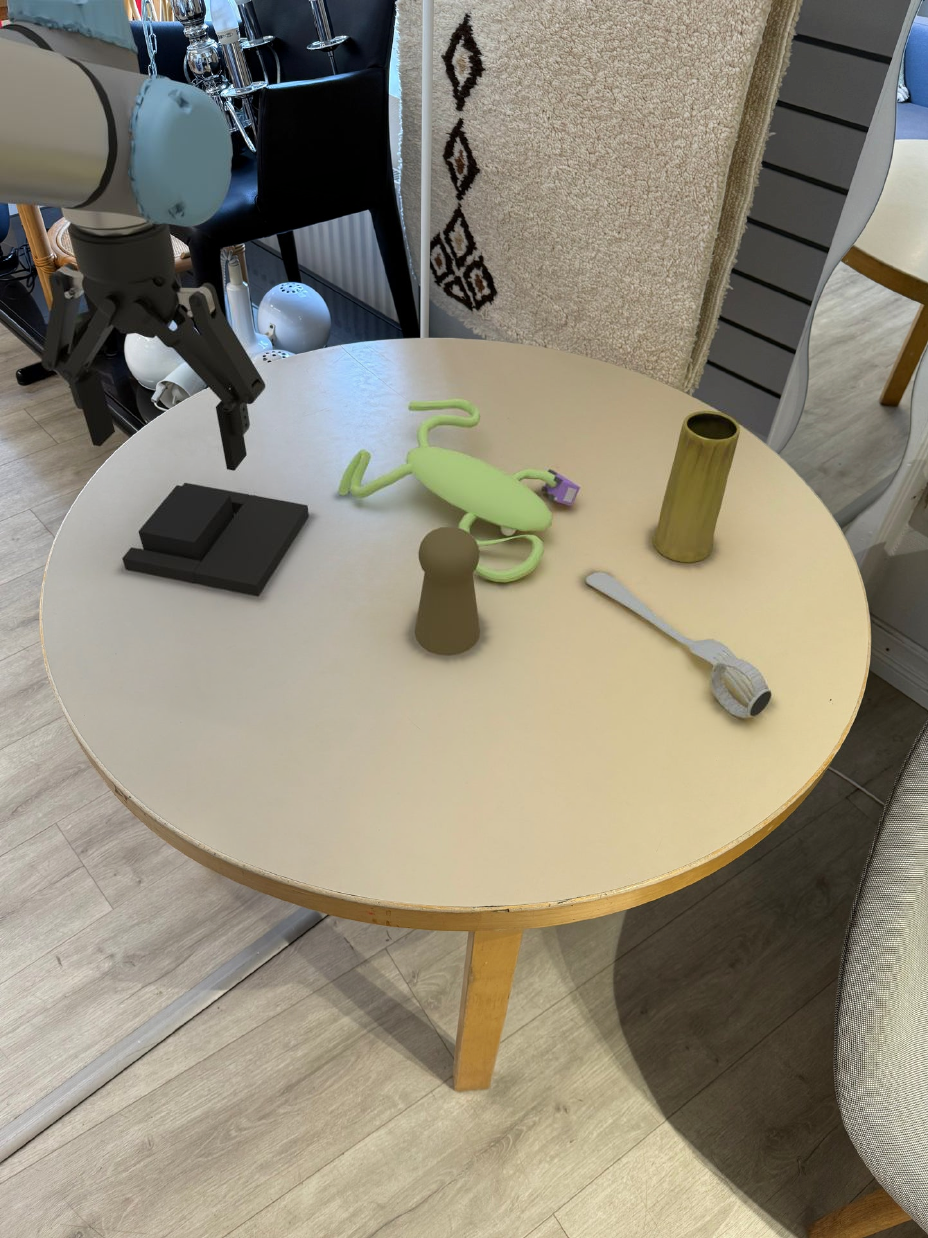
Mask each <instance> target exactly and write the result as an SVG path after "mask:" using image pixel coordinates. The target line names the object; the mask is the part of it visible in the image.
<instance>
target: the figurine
mask: <svg viewBox="0 0 928 1238" xmlns="http://www.w3.org/2000/svg"><path fill="white" fill-rule="evenodd" d="M407 409H408V410H409V411H411V412H426V411H440V410H441V411H442V410H448V409H449V410H450V409H451V410H453V409H455V410H456V409H457V410H462V411H464V412H467V413H468V414H469V415H471V416H468V417H466V416H458V415H453V414H437V415H433V416H431V417H430V418H428V419H425V420H424V421H423V422H421V423H420V425H419V427H418V429H417V431H416V435H417V436H416V440H417V445H418V446H417V447H415V448H413V449H411V450H409V451H408V452H407V454H406V458H405V462H406V463H403V464H401V465H399V466H398V467H396V468H394V469H393V470H391V471H390V472H388V473H386V474H383V475H382V476H379V477H377V478H375V479H374V480H371V481H369V482H368V483H366V484H365V485H363V486H362V480H363V478H364V475H365V472H366V470H367V468H368V466H369V464H370V461H371V458H372V456H371V453H370V452H369V451H367V450H366V449H364V448H363V449H360V450H359V451H358V452H357V453H356V454H355V456H354V457H353V458H352V460H351V461H350V462H349V464H348V465H347V467H346V469H345V471H344V472H343V475H342V478H341V479H340V483H339V486H338V494H339V495H340V496H346V495H348V493H349V492H350V494H351V496H354V497H355V498H357V499H361V500H362V499H364V498H368V497H369V496H371V495H373V494H375V493H377V492H378V491H380V490H382V489H384V488H387V487H389V486H391V485H394V484H395V483H396V482H398V481H400V480H401V479H403V478H405V477H406V476H408V475H411V474H412V475H413V476H414V477H416V478H417V480H419V482H421V483H422V484H423V485H424V486H425V487H426V489H428V490H429V491H431V493H434V494H435V495H436V496H438V497H439V498H441V499H442V500H444V502H447V503H448V504H449V505H452V506H454V507H455V508H457V509H458V510H461V511H463V512H465V514H464V515H463V517H462V518H461V520H460V521H459V523H458V527H457V528H460V529H463V530H465V531H467V532H468V533H470V530H471V526H472V525H473V523H474V522H475V521H476V520H477V519H480V520H482V521H485V522H488V523H491V524H493V525H496V526H499V527H500V531H501V533H502V534H503V535H505V536H506V537H503V538H498V539H491V540H479V539H475V540H476V542H477V545H478V547H486V546H487V547H488V546H493V545H498V544H500V543H503V542H506V541H509V540H512V539H521V538H524V539H526V540H528V541H530V543H531V546H532V549H531V552H530V554H529V556H528V557H527V559H526V560H525V561H524V562H522V563H520V564H519V565H517V566H515V567H513V568H510V569H506V570H495V569H490V568H487V567H485V566H483V565H482V564H480V563H479V562H478V565H477V568H476V569H475V571H474V572H475V573H476V575H478V576H480V577H482V578H484V579H486V580H488V581H492V582H496V583H509V582H514V581H517V580H519V579H522V578H523V577H525V576H527V575H529V574H530V573H531V572H533V571H534V570H535V569H536V568H537V566H538V565H539V563H541V561H542V558H543V556H544V553H545V548H544V542H543V541H542V540H541V539H540V538H539V537H538V536H537V535H535V534H521V535H515V536H513V535H514V534H515V533H516V531H521V532H542V531H544V530H546V529H547V528H549V527H551V526H552V524H553V514H552V512H551V510H550V509H549V507H548V505H547V503H545V501H544V500H543V499H542V498H541V497H540V496H539V495H538V494H537V493H536V492H534V491H533V490H532V488H530V487H529V486H527V485H526V484H524V483H523V482H521V481H523V480H524V479H525V480H539V481H542V482H544V483H545V484H544V485H543V486H542V487H541V489H540V491H541V492H542V493H544V494H546V495H548V497H547V498H548V499H549V500H550V501H552V502H557V503H560V504H563V505H567V506H570V507H572V506H573V504H574V502H575V500H576V498H577V495H578V493H579V491H580V489H581V487H580V486H579V485H577V484H575V483H574V482H573V481H572V480H570V479H569V478H566V477H565V476H563V475H561V474H560V473H558V472H557V471H555V470H553V469H550V468H549V469H548V470H544V469H543V470H542V469H534V468H524V469H521V470H519V471H518V472H515V473H513V474H512V475H511V474H509V473H508V472H506V471H504V470H502V469H500V468H499V467H497V466H495V465H492V464H490V463H488V462H486V461H485V460H482V459H480V458H477V457H474V456H471V455H469V454H465V453H462V452H460V451H457V450H453V449H448V448H442V447H438V446H431V445H430V441H429V436H428V435H429V432H430V431H431V430H433V429H435V428H437V427H441V426H451V427H453V426H454V427H460V428H466V429H467V428H468V429H472V428H474V427H477V425H478V424H479V423H480V421H481V414H480V410H479V409H478V407H477V406H476V405H475V404H473V403H472V402H471V401H469V400H465V399H463V398H449V399H448V398H447V399H440V400H439V399H437V400H411V401H410V402H409V404H408V408H407Z"/></svg>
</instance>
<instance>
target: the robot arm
mask: <svg viewBox="0 0 928 1238" xmlns="http://www.w3.org/2000/svg"><path fill="white" fill-rule="evenodd" d="M6 4H7V9H8V10H7V13H6V15H7V17H8V19H9V22H10V23H8V24H4V25H3V26H0V204H10V205H22V206H24V205H25V206H35V207H36V206H37V207H38V206H39V207H49V208H50V207H51V208H61V212H62V216H63V217H64V219H65V220H66V221H68V222H69V225H68V227H67V233H68V236H69V240H70V244H71V247H72V252H73V255H74V258H75V262H76V265H75V264H74V263H71V262H68V263H66V264H64V265H63V266H61V267H60V268H58V269H57V270H55V271H54V272H53V273H51V274H50V275H49V276H48V282H49V287H50V291H51V292H50V293H51V297H52V300H51V306H50V310H49V311H50V312H49V317H48V322H47V329H46V334H45V340H44V344H43V350H42V355H41V365H42V367H43V368H44V369H45V370H46V371H49V372H52V371H54V370H55V371H57V372H60V373H61V374H62V376H63V377H64V379H65V380H67V383H68V386H69V389H70V393H71V395H72V399H73V403H74V405H75V406H76V408H77V409H78V410H82V412H83V416H84V419H85V423H86V427H87V429H88V433H89V437H90V439H91V442H92V446H95V447H102V445H103V444H105V442H107V441H108V440H109V438H111V437H112V436H113V434H115V433H116V430H115V426H114V425H115V424H114V421H113V417H112V414H111V410H110V407H109V403H108V400H107V396H106V392H105V389H104V384H103V382H102V378H101V375H100V370H99V369H94V368H90V369H89V370H88V369H87V368H89V367H90V366H91V365H92V364H93V360H94V358H95V356H96V355H97V354H98V352H99V351H100V349H101V348H102V346H103V345H104V344H105V342H106V340H107V338H108V337H109V335H110V334H111V332H112V331H113V329H114V328H115V329H117V330H118V331H119V334H124V335H132V334H137V335H139V336H141V337H144V338H148V339H149V338H150V339H154V338H156V337H157V338H158V340H159V341H160V342H161V343H162V344H163V345H164V346H165V347H166V348H172V349H173V350H174V352H176V353H177V355H179V356H180V357H181V359H182V360H183V361H184V362H185V363H186V364H187V366H189V368H191V369H192V370H193V372H194V373H195V374H196V376H198V377H199V378H200V379H201V381H202V382H203V383H204V384H205V385H206V386H207V387H208V388H209V389H210V390H211V391H212V392H213V394H214V395H216V397H217V398H218V399H219V400H220V401H219V402H218V403H217V404H216V406H215V412H216V417H217V422H218V429H219V434H220V439H221V440H220V441H221V444H222V450H223V456H224V461H225V467H226V470H228V471H233V472H235V471H236V470H237V469H238V467H239V466H240V465H241V463H242V462H243V461H244V459H245V458H246V457H247V455H248V454H247V448H246V442H245V434H246V433H247V432H248V431H249V429H250V426H251V421H250V417H249V408H248V405H252V404H254V402H255V401H256V400H257V399H258V398H259V397H260V395H261V394H262V393H263V392H264V390H265V389H266V384H265V380H263V378H262V376H261V374H260V373H259V371H258V369H257V368H256V366H255V364H254V363H253V361H252V359H251V357H250V356H249V355H248V352H247V351H246V349H245V348H244V346H243V344H242V343H241V341H240V339H239V338H238V336H237V334H236V333H235V331H234V329H233V328H232V326H231V324H230V323H229V321H228V319H227V318H226V316H225V314H224V313H223V311H222V308H221V305H220V301H219V298H218V293H217V291H216V288H215V286H214V285H213V284H212V283H210V282H205V283H203V284H202V285H201V286H200V287H182V285H181V284H180V282H179V281H178V278H177V276H176V257H175V251H174V246H173V241H172V235H171V230H170V225H173V226H179V227H184V228H185V227H186V228H187V227H188V228H190V227H196V226H200V225H201V224H204V223H205V222H207V221H209V220H210V219H211V218H212V217H213V216H214V215H215V214H216V213H217V212H218V210H220V208H221V206H222V205H223V203H224V201H225V199H226V197H227V195H228V192H229V189H230V185H231V180H232V176H233V175H232V166H233V165H232V159H233V156H234V153H233V152H234V150H233V142H232V136H231V132H230V129H229V125H228V123H227V120H226V118H225V116H224V114H223V112H222V110H221V108H220V107H219V105H218V104H217V103H216V101H215V100H214V99H213V98H212V97H211V96H210V95H209V94H208V93H206V92H205V91H204V90H203V89H201V88H198V87H197V86H194V85H192V84H188V83H184V82H181V81H177V80H172V79H171V78H169V77H167V76H165V75H162V74H161V75H160V74H154V73H153V74H150V75H149V74H143V73H141V71H140V65H139V60H138V54H139V51H138V46H137V45H136V43H135V39H134V35H133V32H132V31H133V30H132V27H131V24H130V20H129V16H128V12H127V9H126V8H127V7H126V5H125V1H124V0H6ZM83 294H85V296H87V298H88V299H89V300H90V302H92V303H93V305H94V306H95V308H97V309H96V311H95V313H94V314H93V316H92V318H91V319H90V321H89V323H88V324H87V329H86V330H85V332H84V333H83V335H82V337H80V340H79V341H78V343H77V344H76V346H75V348H74V350H73V351H72V353H71V348H72V344H73V339H74V334H75V330H76V325H77V320H78V316H79V311H80V305H81V301H82V295H83ZM181 306H184V307H185V308H186V310H187V311H185V310H184V309H183V308H182V307H181ZM192 318H193V319H192ZM172 323H174V324H175V325H176V328H175V329H174V330H172V329H171V328H170V326H171V325H172ZM195 325H196V328H197V329H198V330H197V329H196V328H195Z"/></svg>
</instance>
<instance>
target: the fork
mask: <svg viewBox="0 0 928 1238" xmlns="http://www.w3.org/2000/svg"><path fill="white" fill-rule="evenodd" d="M585 582H586V584H587V585H589V586H591V587H592V588H594V589H596V590H597V591H599V592H601V593H603V594H604V595H606V596H609V597H610V598H611V599H613V600H614V601H616V602H618V603H620V604H622V605H623V606H625V607H627V608H628V609H630V610H631V611H633V612H634V613H636V614H637V615H639V616H641V617H642V618H644V619H646V620H647V621H649V622H650V623H651V624H653V625H654V626H655V627H657V628H658V629H660V630H661V631H662V632H664V633H666V635H668V636H670V637H672V638H673V639H675V640H676V641H678V642H679V643H681V644H684V645H686V646H688V648H689V649H690V650H689V651H690V652H691V653H692V654H693V655H696V656H698V657H699V658H702V659H704V660H705V661H706V662H708V663H710V664H711V665H712V666H713V667H714V665H716V664H717V663H719V662H721V661H722V660H724V659H725V658H727V657H735V658H738V657H737V655H735V653H733V651H732V650H731V648H729V647H728V646H727V645H726V644H724V643H722V642H721V641H718V640H715V639H713V638H712V639H711V638H710V639H709V638H707V639H701V640H694V639H691V638H688V637H686V636H685V635H683V634H681V633H680V632H678V631H677V630H676V629H674V628H673V627H672V626H670V625H669V624H668V623H667V622H665V621H664V620H663V619H662V618H660V617H659V616H657V615H656V614H655V613H654V612H653V611H652V610H651V609H649V608H648V607H647V606H646V605H645V604H644V603H643V602H641V600H639V599H638V598H637V597H636V595H634V594H633V593H632V592H631V591H630V590H629V589H628V588H627V587H625V585H623V584H622V583H621V582H620V581H618V580H617V579H616V578H615V577H613V576H611V575H610V574H607V573H606V572H600V571H599V572H593V573H592V574H590V575H588V576H587V577H586V578H585ZM722 677H724V678H725V679H726V680H727V682H728V683H729V684H730V685H731V686H732V687H733V688H734V689H735V691H736V692H737V693H738V694H739V695H740V696H741V697H742V698H743V700H744V701H745V702H746V703H747V705H749V703H750V700H752V697H753V691H754V689H753V687H752V685H751V683H750V682H749V680H748V679H747V678H746V676H744V675H743V674H742V673H740V672H739V671H737V670H736V669H734V668H730V667H726V671H725V673H723V675H722ZM745 685H746V686H745ZM741 689H742V690H743V691H744V692H743V691H742V690H741ZM749 690H750V691H749ZM750 692H751V693H752V694H751V693H750ZM745 693H746V695H747V696H748V697H749V698H750V700H749V699H748V698H747V696H746V695H745Z"/></svg>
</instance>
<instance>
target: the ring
mask: <svg viewBox="0 0 928 1238" xmlns="http://www.w3.org/2000/svg"><path fill="white" fill-rule="evenodd" d="M726 667H730V668H731V669H733V668H734V669H736V670H737V671H739V672H740V673H742V675H743V676H744V677H745V679H746V680H747V681H748V682H749V684H750V685H751V687H752V688H753V690H754V691H753V693H752V699H750V700H749V702H750V703H749V704H747V707H745V705H742V704H741V703H739V701H737V700H736V699H735V698H734V697H733V695H732V694H731V693H730V692H729V690H728V689H727V687H726V686H725V684H724V683H725V682H724V681H723V673H725V671H726V672H727V670H726ZM734 669H733V670H734ZM709 687H710V689H711V692H712V693H713V695H714V697H715V698H716V699H717V701H718V703H719V704H720V705H721V706H722V707H723V709H725V710H726V711H727V712H728V713H729V714H731V715H732V716H735V717H737V718H742V719H746V718H748V719H750V718H752V717H756V716H758V715H759V714H761V713H762V712H763V710H764V709H765V708H766V707H767V706H768V705H769V703H770V701H771V698H772V690H771V689H769V685H768V684H767V683H766V679H765V677H764V674H762V672H761V671H760V670H759V669H758V668H757V666H755V665H753V664H752V663H750V662H749V661H748V660H745V659H744V658H743V659H742V658H738V657H737V658H735V657H729V656H727V658H725V659H723V660H722V661H721V662H718V663H717V664H716V665H714V666H713V667H712V668H711V672H710V676H709Z"/></svg>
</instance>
